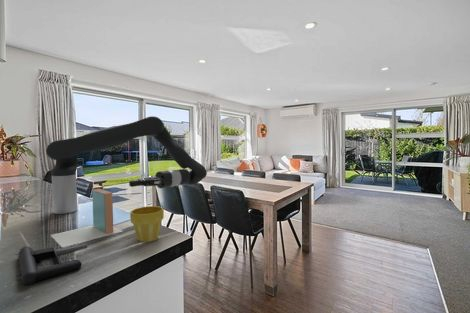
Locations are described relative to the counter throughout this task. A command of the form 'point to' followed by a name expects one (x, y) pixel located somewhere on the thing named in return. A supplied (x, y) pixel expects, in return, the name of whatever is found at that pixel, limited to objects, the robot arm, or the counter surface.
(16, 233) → the counter surface
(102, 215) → the terracotta tile
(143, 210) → the plant pot
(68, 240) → the grey mat
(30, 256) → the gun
